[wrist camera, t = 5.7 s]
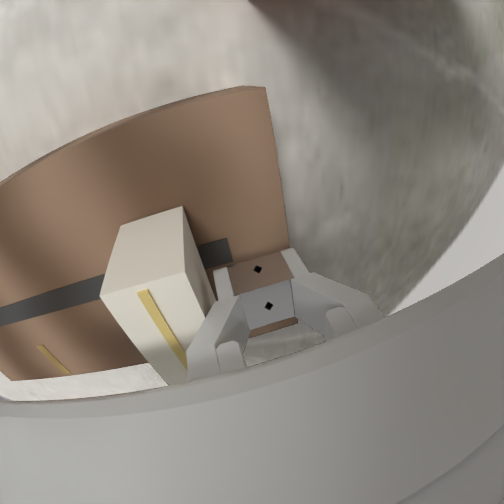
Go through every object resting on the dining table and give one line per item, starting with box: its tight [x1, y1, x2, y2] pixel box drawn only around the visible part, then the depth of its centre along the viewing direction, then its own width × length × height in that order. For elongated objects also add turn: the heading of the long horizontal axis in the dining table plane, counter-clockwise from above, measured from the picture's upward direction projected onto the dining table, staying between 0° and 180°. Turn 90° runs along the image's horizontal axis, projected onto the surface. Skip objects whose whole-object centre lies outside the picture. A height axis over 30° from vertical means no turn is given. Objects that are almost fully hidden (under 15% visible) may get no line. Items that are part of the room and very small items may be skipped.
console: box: [0, 86, 298, 381], centre depth 11 cm, size 22×12×7 cm, turn 100°
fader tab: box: [100, 206, 216, 386], centre depth 10 cm, size 2×5×4 cm, turn 10°
